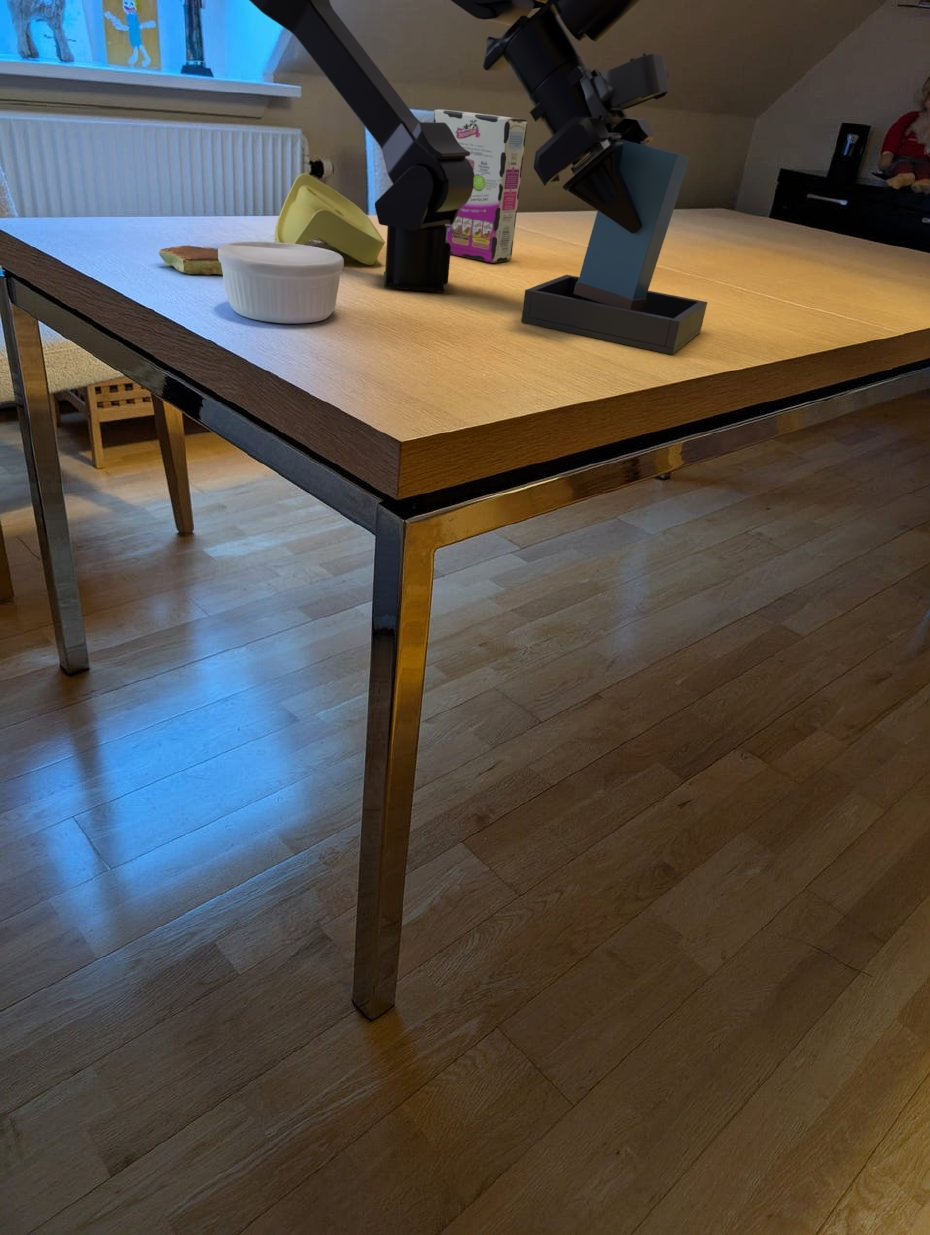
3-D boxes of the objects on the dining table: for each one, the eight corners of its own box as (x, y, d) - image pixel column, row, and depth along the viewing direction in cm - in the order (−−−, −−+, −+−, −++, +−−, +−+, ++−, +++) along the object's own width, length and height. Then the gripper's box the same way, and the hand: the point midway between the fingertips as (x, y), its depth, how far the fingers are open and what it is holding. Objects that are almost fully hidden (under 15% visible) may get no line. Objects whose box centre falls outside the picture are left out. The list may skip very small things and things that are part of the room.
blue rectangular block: (572, 293, 88) (616, 138, 81) (588, 292, 91) (631, 143, 84) (629, 312, 86) (678, 154, 79) (643, 310, 89) (691, 158, 82)
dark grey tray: (520, 322, 88) (524, 289, 86) (561, 303, 97) (566, 274, 95) (672, 355, 83) (679, 321, 81) (700, 332, 92) (707, 302, 90)
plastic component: (388, 247, 102) (311, 200, 97) (358, 303, 105) (282, 261, 100) (361, 206, 117) (293, 164, 112) (335, 257, 120) (267, 218, 115)
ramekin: (296, 293, 88) (296, 237, 86) (367, 320, 82) (369, 261, 79) (196, 303, 81) (192, 242, 79) (265, 333, 75) (264, 268, 72)
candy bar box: (513, 261, 116) (530, 119, 108) (493, 264, 113) (509, 118, 104) (443, 245, 121) (455, 108, 113) (422, 248, 118) (432, 107, 109)
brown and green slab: (282, 277, 94) (281, 259, 93) (236, 287, 88) (235, 268, 87) (201, 259, 98) (200, 242, 97) (152, 268, 92) (150, 249, 91)
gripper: (592, 0, 70) (693, 175, 72) (655, 22, 85) (738, 167, 87) (490, 102, 77) (586, 259, 79) (565, 106, 91) (644, 239, 94)
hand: (644, 228), depth 84 cm, fingers closed on blue rectangular block, 4 cm apart
